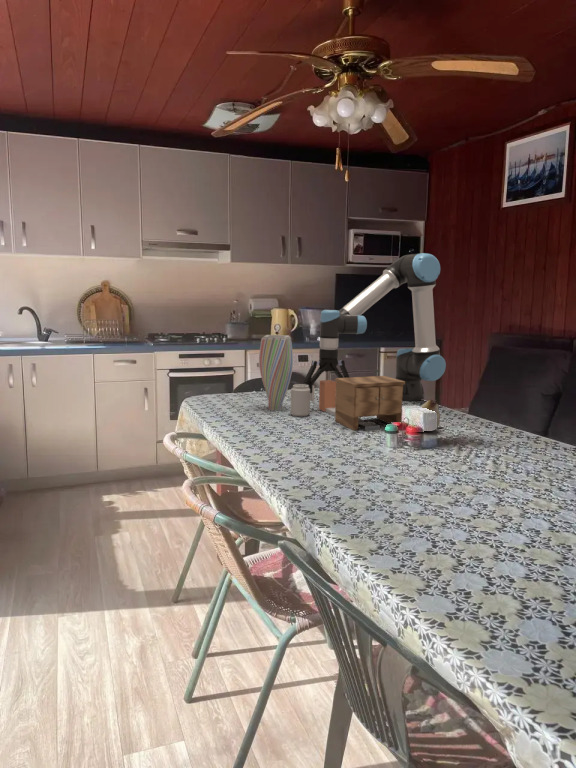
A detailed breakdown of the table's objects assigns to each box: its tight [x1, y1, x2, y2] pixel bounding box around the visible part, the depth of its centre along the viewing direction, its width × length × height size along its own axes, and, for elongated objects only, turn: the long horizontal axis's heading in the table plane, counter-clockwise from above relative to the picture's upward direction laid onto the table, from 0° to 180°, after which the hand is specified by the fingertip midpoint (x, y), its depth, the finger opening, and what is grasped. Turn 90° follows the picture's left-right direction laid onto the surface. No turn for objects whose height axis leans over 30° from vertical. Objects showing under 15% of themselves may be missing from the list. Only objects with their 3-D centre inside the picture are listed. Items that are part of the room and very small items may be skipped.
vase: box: [258, 334, 294, 411], centre depth 239 cm, size 14×14×30 cm
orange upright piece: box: [318, 379, 365, 423], centre depth 229 cm, size 29×5×12 cm, turn 22°
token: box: [358, 421, 381, 432], centre depth 210 cm, size 6×6×2 cm
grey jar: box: [290, 383, 311, 418], centre depth 229 cm, size 8×8×12 cm
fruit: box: [419, 398, 441, 428], centre depth 207 cm, size 10×9×12 cm
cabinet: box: [334, 375, 405, 431], centre depth 215 cm, size 21×15×16 cm
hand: (326, 400), depth 240 cm, fingers open, 13 cm apart
